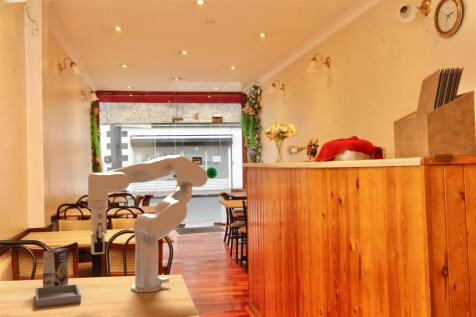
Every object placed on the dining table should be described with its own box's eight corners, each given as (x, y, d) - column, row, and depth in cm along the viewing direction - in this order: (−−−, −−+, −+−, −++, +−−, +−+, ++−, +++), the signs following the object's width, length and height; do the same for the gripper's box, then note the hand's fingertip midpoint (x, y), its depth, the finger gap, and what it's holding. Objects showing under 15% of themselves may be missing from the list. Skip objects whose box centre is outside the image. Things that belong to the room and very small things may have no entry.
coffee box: (56, 291, 183) (56, 252, 183) (42, 290, 184) (42, 251, 184) (68, 285, 192) (69, 248, 192) (55, 284, 193) (55, 247, 193)
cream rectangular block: (102, 251, 178) (102, 233, 178) (104, 253, 174) (104, 235, 174) (91, 252, 176) (91, 234, 176) (92, 254, 172) (92, 236, 172)
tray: (77, 291, 184) (77, 284, 184) (80, 302, 170) (80, 294, 170) (35, 295, 177) (35, 288, 177) (35, 308, 163) (35, 299, 163)
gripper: (111, 206, 169) (111, 254, 169) (104, 201, 184) (104, 246, 184) (90, 207, 165) (90, 256, 166) (85, 202, 181) (85, 247, 181)
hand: (97, 250), depth 175 cm, fingers closed on cream rectangular block, 4 cm apart
